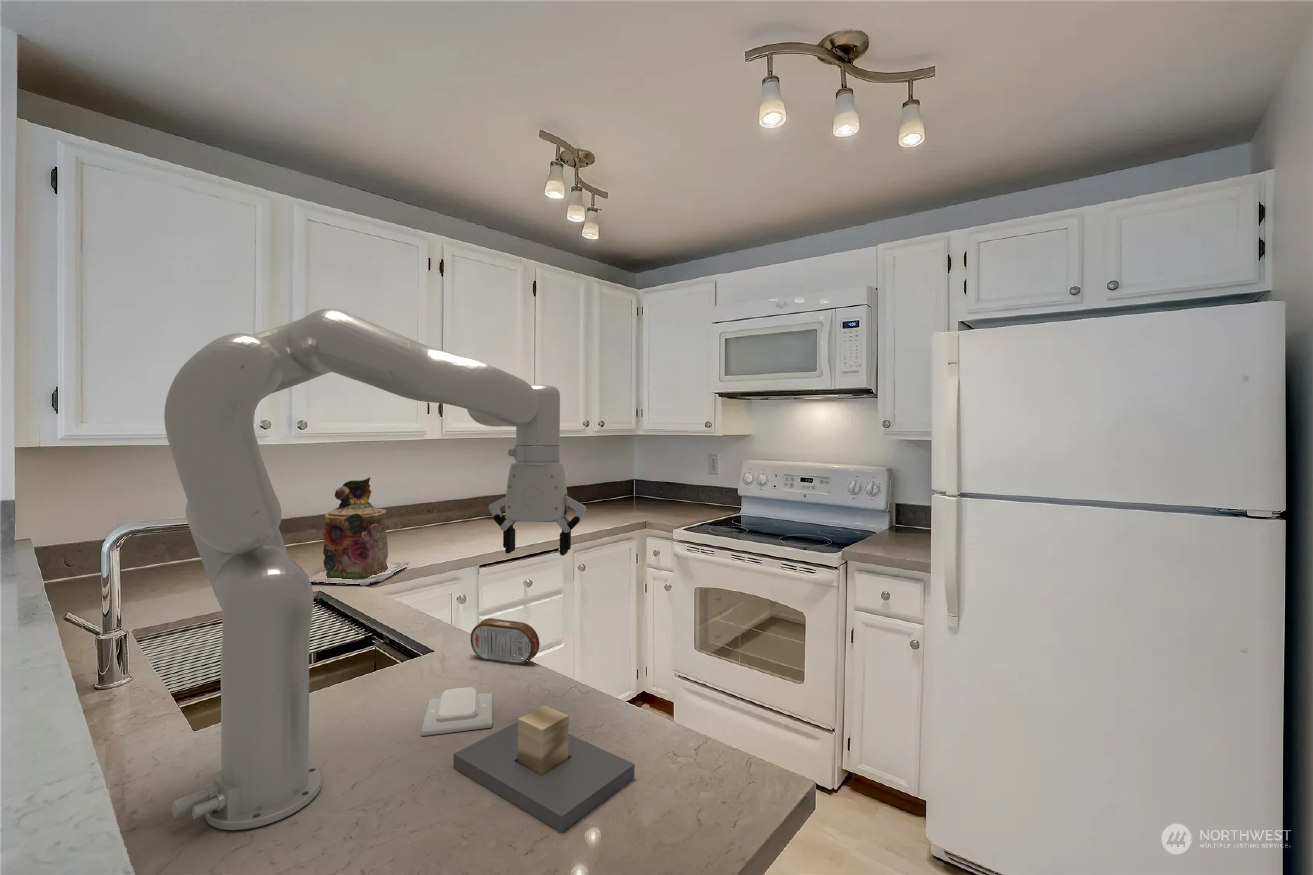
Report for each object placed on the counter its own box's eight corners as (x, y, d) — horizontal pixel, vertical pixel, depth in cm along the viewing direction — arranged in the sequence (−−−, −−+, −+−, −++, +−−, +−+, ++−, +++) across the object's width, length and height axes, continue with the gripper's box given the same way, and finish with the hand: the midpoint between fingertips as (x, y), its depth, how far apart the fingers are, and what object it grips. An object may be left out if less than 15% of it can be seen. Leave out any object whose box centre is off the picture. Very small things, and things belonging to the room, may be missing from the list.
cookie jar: (341, 566, 201) (341, 473, 201) (411, 568, 200) (412, 474, 200) (294, 585, 177) (294, 480, 176) (373, 587, 176) (374, 481, 175)
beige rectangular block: (541, 788, 79) (542, 729, 79) (517, 774, 82) (517, 718, 82) (568, 771, 83) (568, 715, 83) (543, 759, 86) (544, 705, 86)
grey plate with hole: (561, 832, 70) (561, 816, 70) (453, 767, 84) (453, 753, 84) (634, 777, 82) (634, 763, 82) (528, 728, 95) (528, 715, 95)
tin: (540, 662, 121) (540, 622, 121) (532, 668, 118) (533, 627, 118) (476, 654, 125) (476, 615, 125) (467, 659, 122) (468, 620, 122)
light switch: (492, 678, 107) (492, 705, 95) (492, 701, 107) (492, 731, 95) (429, 684, 104) (420, 713, 92) (429, 708, 104) (420, 740, 92)
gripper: (481, 456, 99) (481, 556, 100) (581, 457, 98) (580, 559, 98) (497, 454, 107) (497, 547, 107) (590, 455, 105) (589, 550, 106)
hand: (536, 552), depth 103 cm, fingers open, 9 cm apart
